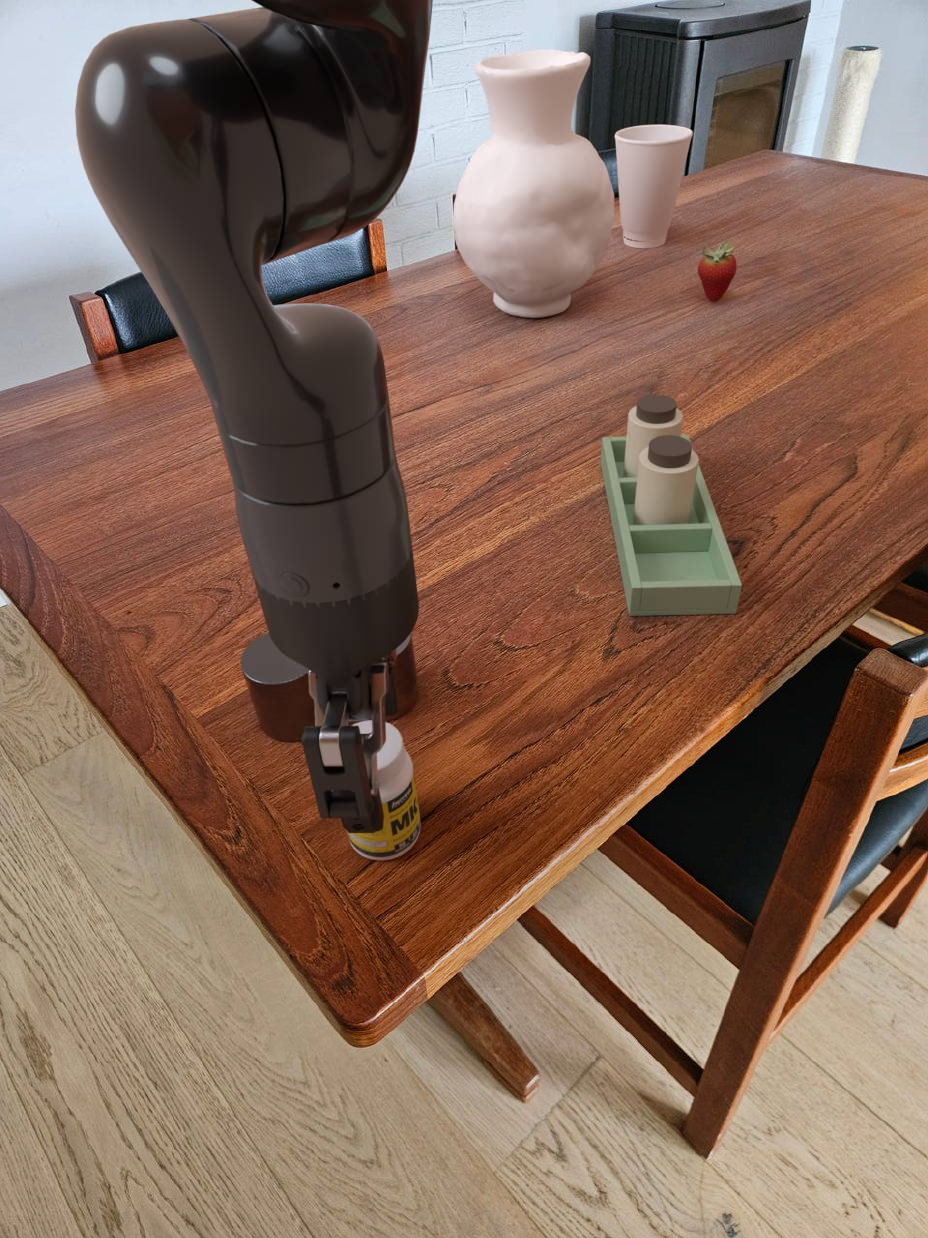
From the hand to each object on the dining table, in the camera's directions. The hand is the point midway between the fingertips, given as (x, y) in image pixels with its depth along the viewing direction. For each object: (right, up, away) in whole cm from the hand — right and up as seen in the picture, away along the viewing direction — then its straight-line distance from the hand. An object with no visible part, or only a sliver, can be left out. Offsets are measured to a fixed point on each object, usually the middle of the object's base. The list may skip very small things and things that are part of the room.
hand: (373, 764), depth 49 cm
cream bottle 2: (+23, +17, +27) cm, 40 cm away
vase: (+15, +54, +70) cm, 90 cm away
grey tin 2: (-1, +3, +13) cm, 13 cm away
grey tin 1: (-7, +2, +12) cm, 14 cm away
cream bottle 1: (+24, +23, +33) cm, 46 cm away
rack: (+24, +17, +27) cm, 40 cm away
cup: (+36, +72, +89) cm, 119 cm away
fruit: (+41, +54, +68) cm, 96 cm away
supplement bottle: (0, -5, +4) cm, 7 cm away
